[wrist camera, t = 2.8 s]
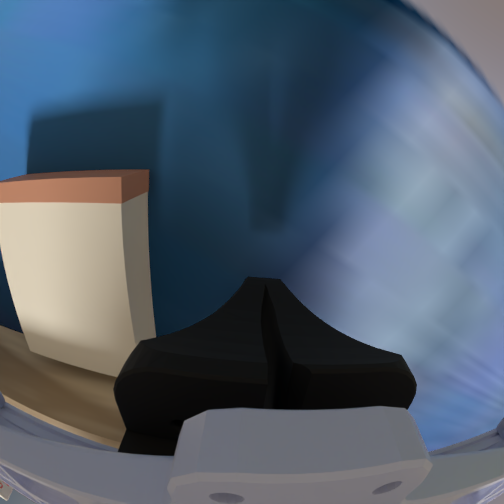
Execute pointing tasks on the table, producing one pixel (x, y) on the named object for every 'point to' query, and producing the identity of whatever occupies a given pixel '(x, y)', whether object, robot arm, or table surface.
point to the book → (79, 263)
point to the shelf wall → (59, 391)
